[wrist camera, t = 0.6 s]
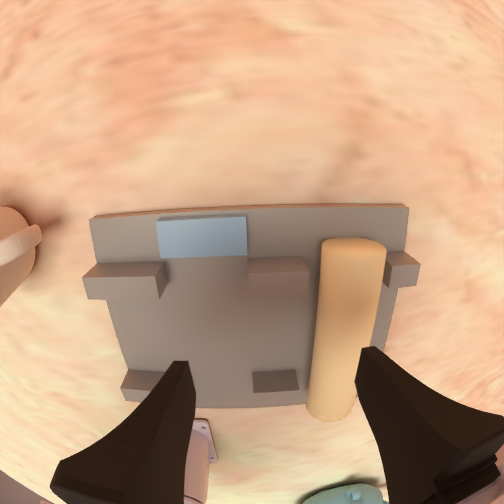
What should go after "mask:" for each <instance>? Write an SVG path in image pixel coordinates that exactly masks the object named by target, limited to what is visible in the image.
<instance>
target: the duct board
mask: <svg viewBox="0 0 504 504" xmlns="http://www.w3.org/2000/svg"><path fill="white" fill-rule="evenodd" d="M408 215H409V207H406V206H404V205H396V204H287V205H253V206H228V207H208V208H191V209H175V210H161V211H148V212H135V213H124V214H113V215H102V216H95V217H93V218H91V219H89V224H90V230H91V235H92V241H93V246H94V251H95V256H96V260H97V264H96V265H95V266H94V267H93V268H92V269H90V270H89V271H88V272H87V273H86V274H85V275H84V276H83V277H82V279H83V283H84V286H85V290H86V294H87V297H88V299H101V300H106V301H107V305H108V308H109V312H110V315H111V319H112V322H113V325H114V329H115V332H116V335H117V338H118V341H119V344H120V347H121V350H122V353H123V356H124V359H125V362H126V364H127V367H128V371H127V374H126V376H125V378H124V381H123V383H122V385H121V391H122V393H123V395H124V397H125V400H126V401H133V402H142V401H143V400H144V399H145V398H146V397H147V395H148V394H149V393H150V392H151V390H152V389H153V388H154V387H155V385H156V384H157V383H158V381H159V380H160V379H161V377H162V376H163V375H164V373H165V372H166V370H167V369H168V368H169V366H170V365H171V363H172V362H173V361H188V362H189V366H190V370H191V374H192V378H193V382H194V386H195V390H196V408H257V407H275V406H288V405H299V404H306V402H307V395H308V388H309V381H310V373H311V365H312V357H313V348H314V339H315V329H316V319H317V307H318V295H319V282H320V267H321V250H322V243H323V242H324V241H326V240H328V239H331V238H335V237H359V238H365V239H369V240H372V241H375V242H378V243H380V244H382V245H383V246H384V247H385V248H386V250H387V252H386V260H385V267H384V274H383V280H382V286H381V292H380V298H379V303H378V308H377V313H376V318H375V323H374V328H373V332H372V337H371V341H370V346H376V347H377V348H378V349H379V350H381V351H382V352H383V350H384V346H385V342H386V338H387V334H388V330H389V326H390V322H391V318H392V314H393V309H394V304H395V300H396V295H397V290H398V288H399V287H409V286H416V284H417V280H418V275H419V269H420V263H419V262H417V261H416V260H415V259H414V258H412V257H411V256H410V255H408V254H407V253H406V252H405V251H404V248H405V241H406V233H407V224H408ZM370 346H369V347H370ZM357 396H358V394H356V397H357Z"/></svg>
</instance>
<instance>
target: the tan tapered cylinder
mask: <svg viewBox="0 0 504 504" xmlns="http://www.w3.org/2000/svg"><path fill="white" fill-rule="evenodd" d="M386 252H387V250H386V248H385V247H384V246H383V245H382V244H380V243H378V242H375V241H372V240H369V239H365V238H359V237H335V238H331V239H328V240H326V241H324V242H323V243H322V250H321V267H320V282H319V295H318V307H317V319H316V329H315V339H314V348H313V357H312V365H311V373H310V381H309V388H308V395H307V402H306V406H307V409H308V411H309V413H310V414H311V415H312V416H313V417H315V418H317V419H319V420H321V421H326V422H334V421H339V420H341V419H343V418H345V417H346V416H348V415H349V413H350V412H351V410H352V407H353V404H354V401H355V397H356V394H357V390H356V386H355V382H354V380H355V376H356V372H357V368H358V363H359V359H360V354H361V349H362V348H364V347H369V346H370V341H371V337H372V332H373V328H374V323H375V318H376V313H377V308H378V303H379V298H380V292H381V286H382V280H383V274H384V267H385V260H386Z"/></svg>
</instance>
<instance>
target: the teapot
mask: <svg viewBox="0 0 504 504" xmlns="http://www.w3.org/2000/svg"><path fill="white" fill-rule="evenodd" d="M302 504H389V502H386V501H384V500H383V496H382V492H381V491H380V490H379V489H378V488H376V487H374V486H371V485H369V484H363V483H357V484H352V485H346V486H341V487H337V488H333V489H326V490H322V491H319V492H318V493H317V494H316V495H313V496H311V497H310V498H308V499H306V500H305V501H304V502H303V503H302Z"/></svg>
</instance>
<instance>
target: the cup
mask: <svg viewBox="0 0 504 504" xmlns="http://www.w3.org/2000/svg"><path fill="white" fill-rule="evenodd" d="M41 241H42V233H41V230H40V228H39V226H38V225H36V224H34V225H31V226H29V225H28V223H27V221H26V220H25V219H24V217H23V216H22V215H21V214H20V213H19V212H17V211H16V210H14V209H12V208H10V207H0V307H1V305H2V304H3V303H4V302H5V301H6V300H7V299H8V298H9V296H10V295H11V294H12V293H13V292H14V291H15V290H16V289H17V288H18V287H19V286H20V284H21V283H22V282H23V281H24V280H25V279H26V278H27V276H28V275H29V273H30V272H31V270H32V268H33V265H34V261H35V246H36V245H38V244H39V243H40V242H41Z"/></svg>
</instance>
